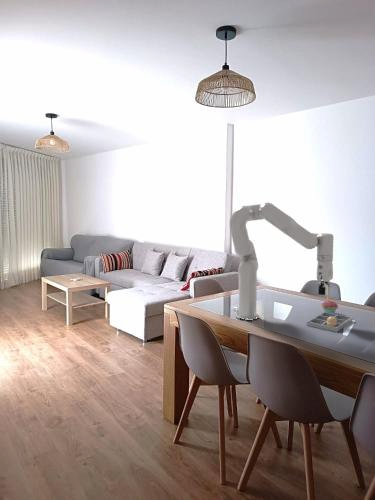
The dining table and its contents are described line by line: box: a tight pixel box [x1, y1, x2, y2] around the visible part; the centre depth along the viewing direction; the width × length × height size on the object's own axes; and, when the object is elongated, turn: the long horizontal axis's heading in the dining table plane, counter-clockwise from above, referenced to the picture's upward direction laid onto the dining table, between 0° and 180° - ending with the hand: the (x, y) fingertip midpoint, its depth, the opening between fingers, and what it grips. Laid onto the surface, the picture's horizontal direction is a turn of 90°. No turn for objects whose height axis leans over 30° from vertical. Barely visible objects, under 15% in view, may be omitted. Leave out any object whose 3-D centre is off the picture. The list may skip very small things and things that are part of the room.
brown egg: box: [327, 316, 337, 327], centre depth 177 cm, size 4×4×6 cm
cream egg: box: [318, 283, 330, 297], centre depth 186 cm, size 4×4×6 cm
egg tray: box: [306, 311, 353, 333], centre depth 185 cm, size 15×22×2 cm
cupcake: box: [321, 294, 339, 314], centre depth 203 cm, size 9×8×12 cm
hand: (323, 293), depth 186 cm, fingers closed on cream egg, 4 cm apart
